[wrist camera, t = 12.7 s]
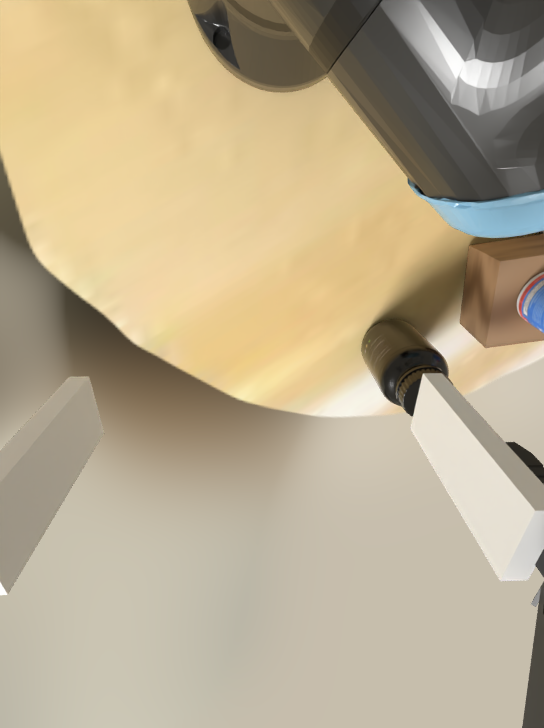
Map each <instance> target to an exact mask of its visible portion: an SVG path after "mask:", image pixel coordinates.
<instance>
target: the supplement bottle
mask: <svg viewBox="0 0 544 728" xmlns="http://www.w3.org/2000/svg"><path fill="white" fill-rule="evenodd" d="M361 350H362V356H363V358H364V361H365V363H366V364H367V366H368V368H369V370H370V372H371V374H372V375H373V377H374V379H375V381H376V383H377V384H378V386H379V388H380V390H381V392H382V393H383V395H384V396H385V397H386V398H387V399H388V400H389V401H390V402H392V403H394V404H396V405H399V406H402V407H403V409H404V410H405V411H406V412H407V413H408V414H410V416H413V414H414V410H415V406H416V401H417V397H418V393H419V388H420V384H421V380H422V375H423V373H442V374H443V375H444V376H445V377H446V378H447V379H448V380H449V382H450V383H451V384H452V385H453V383H452V382H451V381H450V379H449V378H448V374H449V370H448V365H447V362H446V360H445V359H444V357H443V356H442V355H441V354H440V353H439V352H438V351H437V350H436V349H435V348H434V347H433V346H432V345H431V344H430V343H429V342H428V341H427V340H426V339H425V338H424V337H423V336H422V335H421V334H420V333H419V332H418V331H417V330H416V329H415V328H414V327H413V326H412V325H411V324H409V323H408V322H406V321H403V320H399V319H389V320H384V321H382V322H379V323H378V324H376V325H374V326H373V327H372V328H371V329H370V330H369V331H368V332H367V334H366V335H365V337H364V339H363V342H362V348H361Z"/></svg>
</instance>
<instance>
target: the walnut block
mask: <svg viewBox="0 0 544 728" xmlns="http://www.w3.org/2000/svg"><path fill="white" fill-rule="evenodd" d="M542 272H544V234H539V235H533V236H527V237H520V238H514V239H507V240H501V241H495V242H488V243H482V244H475V245H469V251H468V259H467V267H466V276H465V284H464V292H463V300H462V308H461V316H460V324H461V325H462V326H463V327H464V328H465V329H466V330H467V331H468V332H469V333H470V334H471V335H472V336H474V337H475V338H476V339H477V340H478V341H479V342H480V343H481V344H482V345H483V346H484V347H485V348H490V347H497V346H505V345H512V344H520V343H527V342H535V341H542V340H544V333H543V332H541V331H540V330H538V329H537V328H536V327H534V326H532V325H531V324H529V323H528V322H527V321H525V320H524V319H523V318H522V317H521V316H520V315H519V313H518V310H517V299H518V296H519V294H520V292H521V290H522V289H523V287H524V286H525V285H526V284H527V283H528V282H529V281H530V280H531V279H532V278H533V277H535V276H536V275H538V274H540V273H542Z"/></svg>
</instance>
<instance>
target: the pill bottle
mask: <svg viewBox="0 0 544 728" xmlns="http://www.w3.org/2000/svg"><path fill="white" fill-rule="evenodd" d="M517 310H518V313H519V315H520V316H521V317H522V318H523V319H524V320H525V321H527V322H528V323H529V324H531V325H532V326H534V327H536V328H537V329H538V330H540V331H541V332H543V333H544V272H542V273H540V274H538V275H536V276H535V277H533V278H532V279H531V280H530V281H529V282H528V283H527V284H526V285H525V286H524V287H523V289H522V290H521V292H520V294H519V296H518V299H517Z"/></svg>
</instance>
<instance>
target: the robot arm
mask: <svg viewBox="0 0 544 728" xmlns="http://www.w3.org/2000/svg"><path fill="white" fill-rule="evenodd" d="M187 1H188V4H189V7H190V9H191V12H192V14H193V17H194V19H195V22H196V24H197V27H198V29H199V31H200V33H201V35H202V37H203V39H204V41H205V42H206V44H207V45H208V47H209V49H210V50H211V51H212V53H213V54H214V56H215V57H216V58H217V59H218V61H219V62H220V63H221V64H222V65H223V66H224V67H225V68H226V69H227V70H228V71H229V72H230V73H232V74H233V75H234V76H236V77H237V78H238V79H240V80H241V81H243V82H245V83H247V84H249V85H251V86H253V87H255V88H258V89H261V90H265V91H270V92H293V91H298V90H301V89H305V88H307V87H310V86H312V85H314V84H316V83H318V82H320V81H321V80H323V79H325V78H326V77H328V78H329V80H330V81H331V82H332V83H333V85H334V86H335V87H336V88H337V90H338V91H339V92H340V93H341V95H342V96H343V97H344V98H345V100H346V101H347V102H348V103H349V105H350V106H351V107H352V108H353V110H354V111H355V112H356V113H357V115H358V116H359V117H360V118H361V120H362V121H363V122H364V123H365V125H366V126H367V127H368V128H369V130H370V131H371V132H372V133H373V135H374V136H375V137H376V138H377V140H378V141H379V142H380V143H381V145H382V146H383V147H384V148H385V150H386V151H387V152H388V153H389V155H390V156H391V157H392V158H393V160H394V161H395V162H396V163H397V165H398V166H399V167H400V169H401V170H402V171H403V172H404V174H405V175H406V176H407V177H408V184H409V186H410V187H411V188H412V190H413V191H414V192H415V193H416V195H418V196H419V197H420V198H423V199H424V200H426V201H427V202H429V204H430V205H431V206H432V207H433V208H434V209H435V210H436V211H437V212H438V214H439V215H440V216H441V217H442V218H443V219H444V220H445V221H446V222H447V223H448V224H449V225H450V226H452V227H453V228H455V229H457V230H460V231H462V232H464V233H466V234H469V235H473V236H477V237H488V238H504V237H514V236H521V235H526V234H531V233H535V232H539V231H544V0H187ZM410 429H411V431H412V433H413V434H414V436H415V438H416V439H417V441H418V443H419V444H420V446H421V448H422V450H423V451H424V453H425V455H426V456H427V458H428V460H429V461H430V463H431V465H432V466H433V468H434V470H435V471H436V473H437V475H438V476H439V478H440V480H441V482H442V483H443V485H444V487H445V488H446V490H447V492H448V493H449V495H450V497H451V498H452V500H453V502H454V503H455V505H456V507H457V509H458V510H459V512H460V514H461V515H462V517H463V519H464V521H465V522H466V524H467V526H468V527H469V529H470V530H471V532H472V534H473V536H474V537H475V539H476V541H477V542H478V544H479V546H480V547H481V549H482V551H483V553H484V554H485V556H486V558H487V559H488V561H489V563H490V564H491V566H492V568H493V569H494V571H495V573H496V574H497V576H498V578H499V580H500V581H516V580H517V581H518V580H528V579H529V577H530V575H531V573H532V572H533V570H534V568H535V566H536V567H537V568H538V570H539V571H540V573H541V574H542V575H543V577H544V467H543V465H542V463H540V461H539V460H538V459H537V458H536V457H535V456H534V455H533V454H532V453H531V452H529V451H527V450H526V449H524V448H523V447H521V446H520V445H518V444H517V443H515V442H504V441H503V440H502V438H501V437H500V436H499V435H498V434H497V433H496V432H495V431H494V430H493V429H492V427H491V426H490V425H489V424H488V423H487V422H486V421H485V420H484V419H483V418H482V417H481V416H480V414H479V413H478V412H477V411H476V410H475V409H474V408H473V407H472V406H471V405H470V403H469V402H468V401H467V400H466V399H465V398H464V397H463V396H462V395H461V394H460V393H459V391H458V390H457V389H456V388H455V387H454V386H453V385H452V384H451V383H450V382H449V380H448V379H447V378H446V377H445V376H444V375H443V374H442V373H423V375H422V380H421V384H420V388H419V393H418V397H417V401H416V406H415V410H414V414H413V419H412V423H411V428H410ZM103 434H104V431H103V427H102V423H101V419H100V416H99V412H98V408H97V404H96V401H95V397H94V393H93V389H92V385H91V382H90V378H89V377H69V378H68V379H67V380H66V381H65V382H64V383H63V384H62V385H61V386H60V387H59V388H58V389H57V390H56V391H55V392H54V394H53V395H52V396H51V397H50V398H49V399H48V400H47V401H46V402H45V403H44V404H43V405H42V406H41V408H39V410H38V411H37V412H36V413H35V414H34V415H33V416H32V417H31V418H30V419H29V420H28V421H27V422H26V424H25V425H24V426H23V427H22V428H21V429H20V430H19V431H18V432H17V433H16V434H15V435H14V436H13V437H12V438H11V440H10V441H9V442H8V443H7V444H6V445H5V446H4V447H3V448H2V449H1V450H0V595H8V593H9V592H10V590H11V588H12V587H13V585H14V583H15V582H16V580H17V578H18V577H19V575H20V573H21V571H22V570H23V568H24V566H25V565H26V563H27V562H28V560H29V558H30V556H31V555H32V553H33V551H34V550H35V548H36V546H37V545H38V543H39V541H40V540H41V538H42V536H43V535H44V533H45V531H46V530H47V528H48V526H49V525H50V523H51V521H52V519H53V518H54V516H55V515H56V513H57V511H58V509H59V508H60V506H61V505H62V503H63V501H64V500H65V498H66V496H67V494H68V493H69V491H70V489H71V488H72V486H73V484H74V483H75V481H76V479H77V478H78V476H79V474H80V472H81V471H82V469H83V468H84V466H85V464H86V463H87V461H88V459H89V458H90V456H91V454H92V452H93V451H94V449H95V447H96V446H97V444H98V443H99V441H100V439H101V438H102V436H103ZM538 602H539V605H538V613H537V620H536V628H535V636H534V643H533V651H532V659H531V666H530V673H529V681H528V689H527V696H526V704H525V711H524V719H523V726H522V728H544V582H543V584H542V586H541V587H540V589H539V591H538V593H537V594H536V596H535V597H534V599H533V601H532V603H531V604H532V605H533V606H535V607H536V606H537V604H538Z"/></svg>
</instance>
